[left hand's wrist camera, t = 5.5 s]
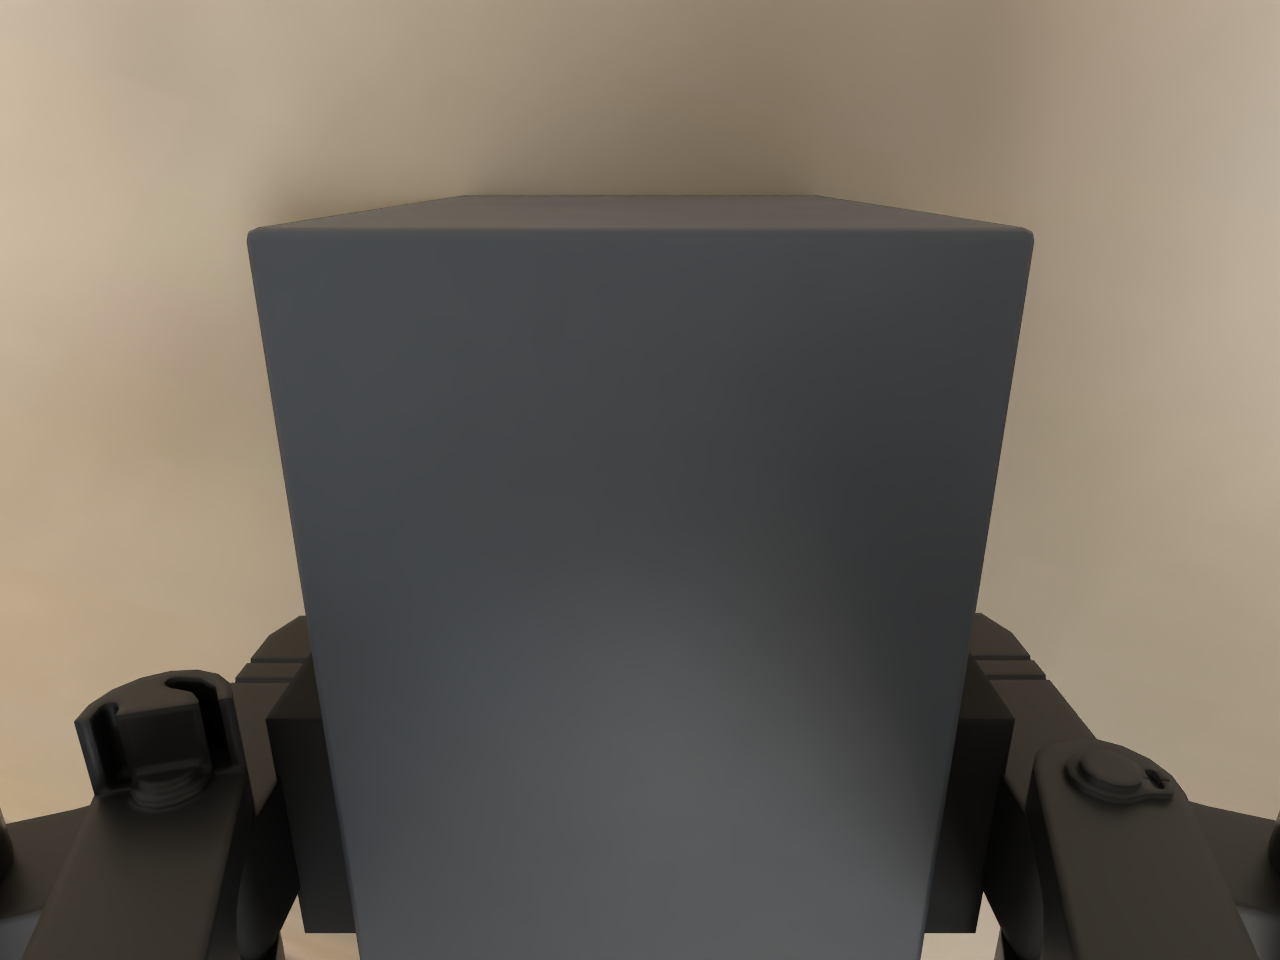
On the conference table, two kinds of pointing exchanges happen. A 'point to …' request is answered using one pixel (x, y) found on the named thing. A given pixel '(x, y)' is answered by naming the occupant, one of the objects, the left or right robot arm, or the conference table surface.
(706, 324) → the post
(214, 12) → the conference table surface
